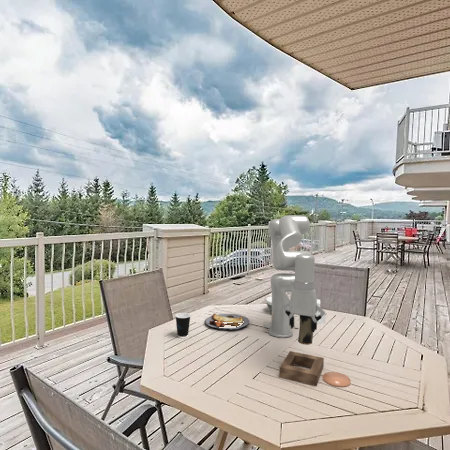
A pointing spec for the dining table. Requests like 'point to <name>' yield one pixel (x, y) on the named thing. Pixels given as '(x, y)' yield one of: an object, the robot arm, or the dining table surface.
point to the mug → (305, 330)
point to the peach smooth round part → (336, 379)
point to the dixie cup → (182, 324)
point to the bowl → (270, 302)
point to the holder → (302, 374)
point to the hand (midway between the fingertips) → (302, 329)
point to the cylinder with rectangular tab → (319, 314)
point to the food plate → (226, 320)
